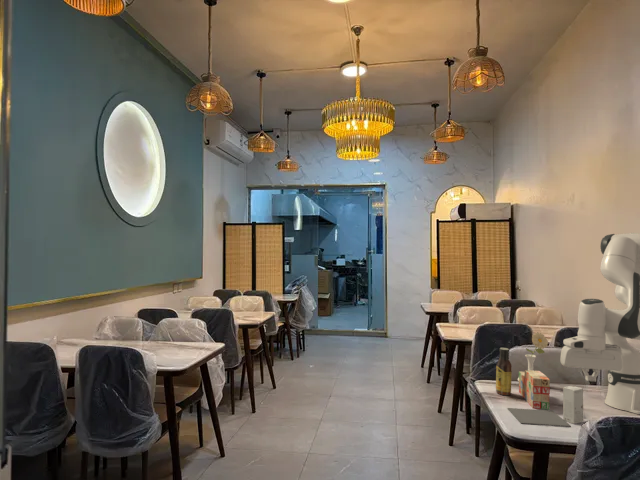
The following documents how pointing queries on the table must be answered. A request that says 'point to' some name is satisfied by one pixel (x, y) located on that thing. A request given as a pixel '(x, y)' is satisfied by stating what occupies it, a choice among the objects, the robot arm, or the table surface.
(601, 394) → the table surface
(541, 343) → the flower in vase
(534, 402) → the stack of blocks
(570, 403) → the skincare box
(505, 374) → the sauce bottle
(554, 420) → the placemat
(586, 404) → the table surface
